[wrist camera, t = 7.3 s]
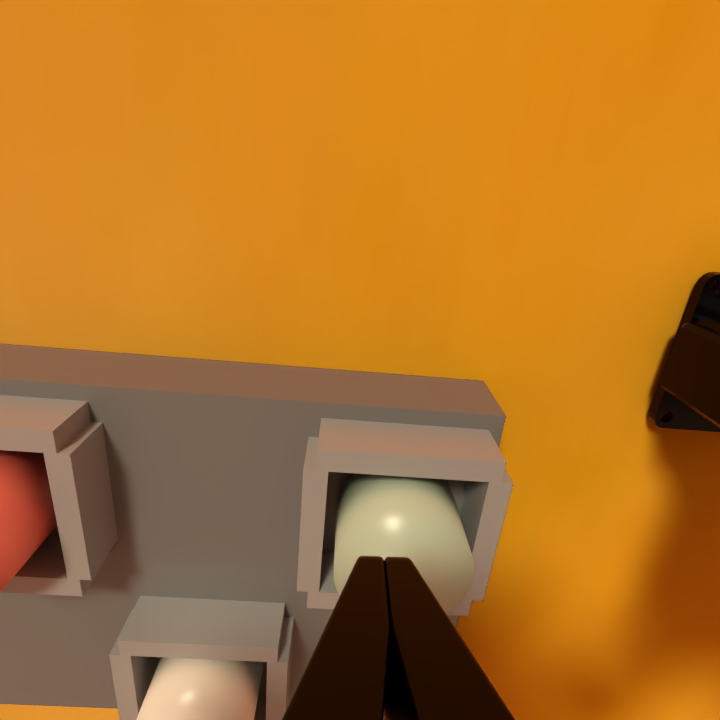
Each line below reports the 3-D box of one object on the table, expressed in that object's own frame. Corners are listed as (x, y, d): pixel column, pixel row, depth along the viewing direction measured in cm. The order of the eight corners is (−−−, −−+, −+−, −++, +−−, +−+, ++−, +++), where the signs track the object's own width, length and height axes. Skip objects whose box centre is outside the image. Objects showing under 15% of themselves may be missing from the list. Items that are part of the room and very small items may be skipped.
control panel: (483, 381, 19) (526, 447, 14) (424, 660, 25) (441, 769, 21) (-44, 340, 18) (-181, 397, 13) (32, 642, 24) (-44, 753, 20)
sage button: (463, 463, 16) (486, 522, 14) (444, 558, 18) (461, 627, 15) (341, 455, 16) (338, 513, 13) (332, 551, 18) (328, 621, 15)
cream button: (263, 632, 19) (248, 708, 17) (262, 700, 21) (248, 779, 18) (157, 627, 19) (124, 703, 16) (164, 696, 21) (135, 776, 18)
